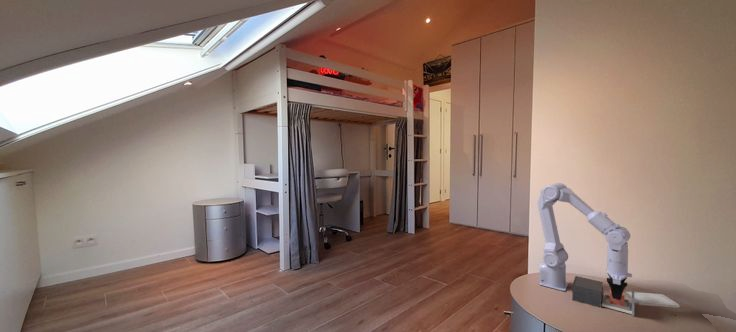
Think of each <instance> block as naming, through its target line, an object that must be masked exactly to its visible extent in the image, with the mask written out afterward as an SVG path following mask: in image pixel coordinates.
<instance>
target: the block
mask: <svg viewBox="0 0 736 332" xmlns="http://www.w3.org/2000/svg"><path fill="white" fill-rule="evenodd" d="M609 296H610V303H611V304H615V305H619V306H623V307H624V299H625V297H626V296H625V291H623V293H622V297H621V300H617V299H613V297H612V293H611V289H610V290H609Z"/></svg>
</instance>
